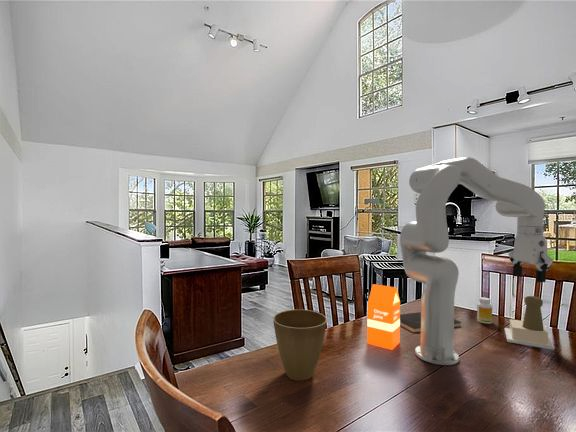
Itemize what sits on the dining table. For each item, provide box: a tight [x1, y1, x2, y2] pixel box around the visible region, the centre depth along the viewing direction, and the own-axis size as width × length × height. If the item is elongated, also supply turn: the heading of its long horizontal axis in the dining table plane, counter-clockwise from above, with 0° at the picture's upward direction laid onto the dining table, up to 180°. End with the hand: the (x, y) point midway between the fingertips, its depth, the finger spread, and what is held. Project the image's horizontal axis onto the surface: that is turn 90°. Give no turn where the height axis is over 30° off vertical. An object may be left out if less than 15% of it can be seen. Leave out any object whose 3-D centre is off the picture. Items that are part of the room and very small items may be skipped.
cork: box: [522, 295, 544, 331], centre depth 115 cm, size 6×6×11 cm
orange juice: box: [366, 283, 401, 351], centre depth 113 cm, size 8×9×20 cm
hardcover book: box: [400, 311, 463, 333], centre depth 135 cm, size 16×23×2 cm
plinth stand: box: [504, 319, 555, 351], centre depth 118 cm, size 13×13×5 cm
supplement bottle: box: [476, 296, 493, 325], centre depth 136 cm, size 5×5×10 cm
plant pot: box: [272, 309, 328, 382], centre depth 91 cm, size 15×15×16 cm
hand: (528, 279), depth 117 cm, fingers open, 9 cm apart
